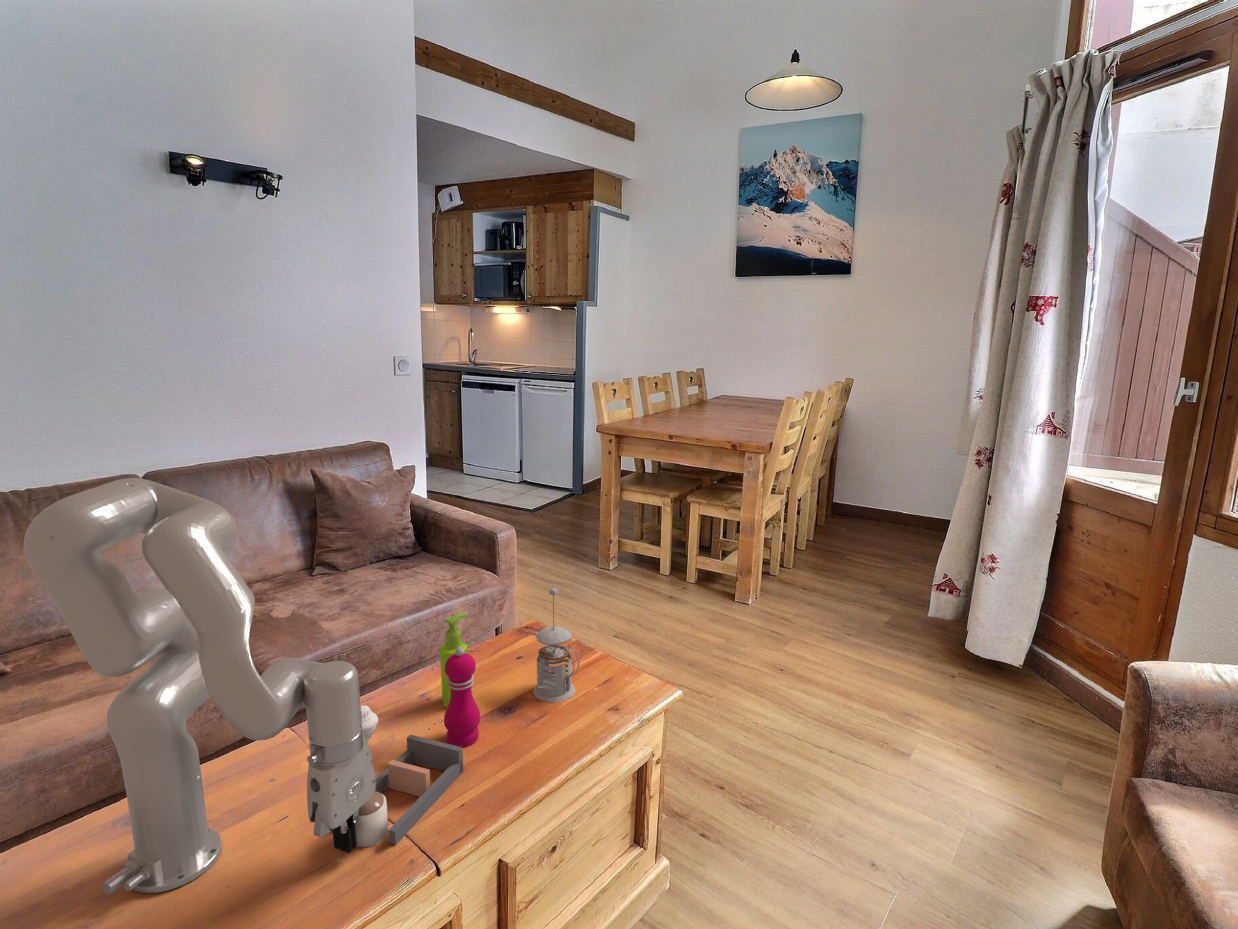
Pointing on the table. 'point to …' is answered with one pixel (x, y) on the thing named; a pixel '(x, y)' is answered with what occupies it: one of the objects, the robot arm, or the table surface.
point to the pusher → (408, 778)
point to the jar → (372, 821)
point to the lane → (437, 758)
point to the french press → (549, 684)
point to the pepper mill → (461, 700)
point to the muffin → (368, 722)
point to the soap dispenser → (450, 652)
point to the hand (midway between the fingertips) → (345, 847)
